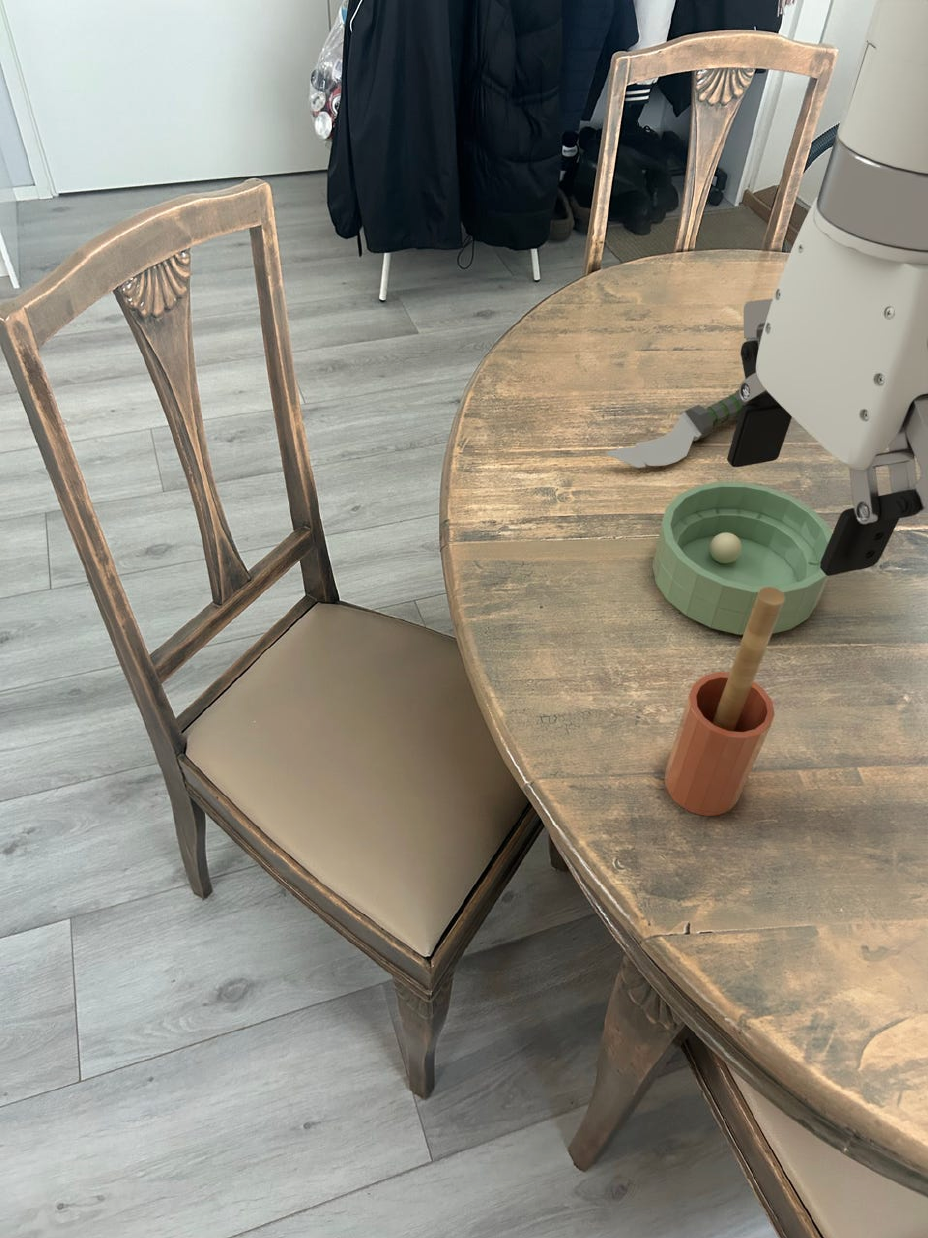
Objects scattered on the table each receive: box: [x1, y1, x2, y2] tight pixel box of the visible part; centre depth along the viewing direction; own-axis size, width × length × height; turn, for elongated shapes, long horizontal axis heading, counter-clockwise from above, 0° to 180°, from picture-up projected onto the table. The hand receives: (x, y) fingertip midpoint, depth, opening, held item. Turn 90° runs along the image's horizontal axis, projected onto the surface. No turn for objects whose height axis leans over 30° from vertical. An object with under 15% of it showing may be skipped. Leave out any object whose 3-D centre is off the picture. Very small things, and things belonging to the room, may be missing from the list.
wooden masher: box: [712, 587, 785, 731], centre depth 61 cm, size 3×2×20 cm, turn 17°
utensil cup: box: [664, 671, 776, 817], centre depth 65 cm, size 6×6×10 cm
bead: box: [710, 532, 742, 563], centre depth 85 cm, size 3×3×3 cm
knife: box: [604, 388, 747, 469], centre depth 99 cm, size 22×4×5 cm
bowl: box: [651, 481, 833, 636], centre depth 83 cm, size 16×16×6 cm
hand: (796, 511), depth 49 cm, fingers open, 9 cm apart
